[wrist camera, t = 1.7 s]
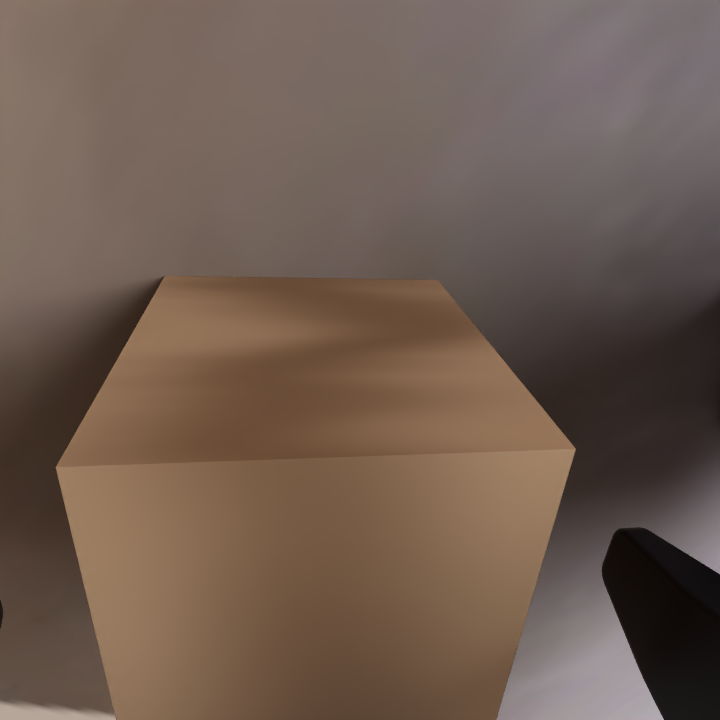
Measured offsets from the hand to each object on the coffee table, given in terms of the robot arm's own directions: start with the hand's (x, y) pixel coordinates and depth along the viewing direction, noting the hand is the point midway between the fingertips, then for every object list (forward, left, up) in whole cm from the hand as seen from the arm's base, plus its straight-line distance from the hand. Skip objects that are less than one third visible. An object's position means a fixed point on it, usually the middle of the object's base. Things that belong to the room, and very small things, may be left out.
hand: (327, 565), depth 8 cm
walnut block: (0, 0, -5) cm, 5 cm away
